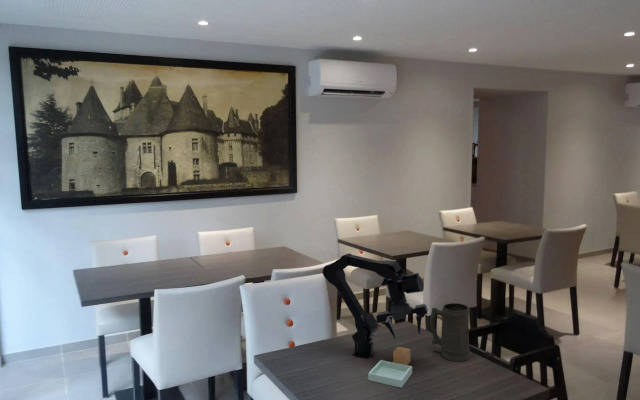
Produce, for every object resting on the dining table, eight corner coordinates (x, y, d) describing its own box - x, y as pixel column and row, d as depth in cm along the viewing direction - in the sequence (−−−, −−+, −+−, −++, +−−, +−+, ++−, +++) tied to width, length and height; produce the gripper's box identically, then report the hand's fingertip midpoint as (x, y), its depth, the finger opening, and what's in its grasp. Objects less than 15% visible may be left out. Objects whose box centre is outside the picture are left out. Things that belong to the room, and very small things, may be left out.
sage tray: (368, 380, 166) (368, 373, 166) (380, 366, 176) (380, 360, 176) (401, 387, 160) (401, 380, 160) (412, 373, 171) (412, 366, 171)
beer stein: (472, 352, 188) (469, 302, 187) (471, 363, 178) (468, 310, 177) (432, 349, 193) (429, 301, 192) (429, 360, 183) (426, 309, 182)
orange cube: (393, 364, 178) (393, 351, 178) (397, 359, 183) (397, 346, 182) (406, 367, 176) (406, 354, 175) (410, 361, 180) (410, 349, 180)
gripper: (369, 304, 173) (380, 347, 172) (420, 294, 168) (431, 338, 167) (374, 297, 184) (384, 337, 183) (422, 288, 179) (432, 329, 178)
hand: (407, 336), depth 177 cm, fingers open, 9 cm apart
